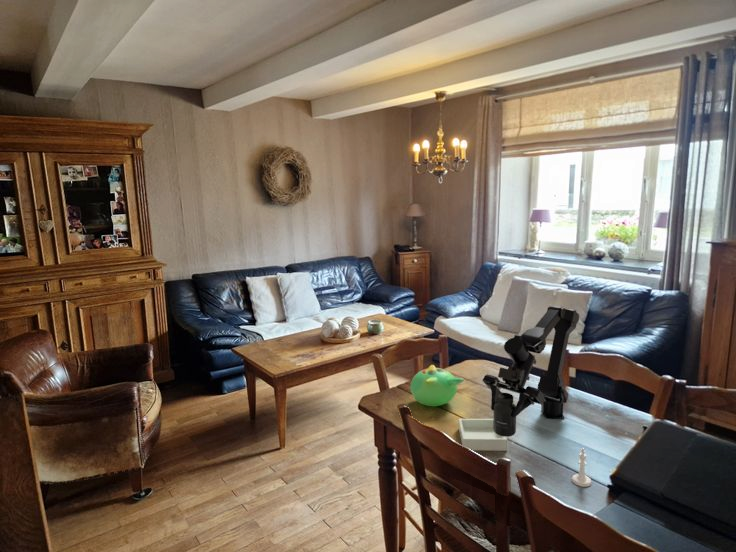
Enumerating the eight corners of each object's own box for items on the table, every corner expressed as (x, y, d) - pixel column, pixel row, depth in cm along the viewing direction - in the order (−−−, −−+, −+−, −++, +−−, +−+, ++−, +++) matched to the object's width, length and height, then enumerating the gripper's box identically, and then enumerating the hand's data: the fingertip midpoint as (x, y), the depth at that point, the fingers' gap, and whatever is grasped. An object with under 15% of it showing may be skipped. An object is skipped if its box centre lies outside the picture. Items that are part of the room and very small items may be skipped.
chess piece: (585, 475, 132) (587, 443, 130) (594, 486, 127) (596, 452, 125) (568, 476, 132) (570, 444, 130) (577, 487, 127) (578, 453, 125)
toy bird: (444, 391, 191) (444, 357, 188) (466, 408, 175) (466, 371, 173) (404, 399, 185) (403, 364, 182) (423, 417, 169) (423, 379, 167)
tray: (498, 429, 159) (499, 418, 159) (507, 450, 146) (507, 439, 145) (458, 428, 160) (458, 418, 160) (463, 450, 147) (463, 439, 146)
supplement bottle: (497, 438, 141) (497, 401, 139) (490, 427, 148) (490, 391, 146) (519, 436, 141) (519, 399, 139) (511, 425, 148) (512, 390, 146)
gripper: (485, 350, 150) (465, 393, 144) (540, 364, 136) (521, 412, 131) (498, 366, 156) (480, 408, 151) (552, 381, 143) (534, 427, 138)
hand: (502, 413), depth 142 cm, fingers closed on supplement bottle, 7 cm apart
